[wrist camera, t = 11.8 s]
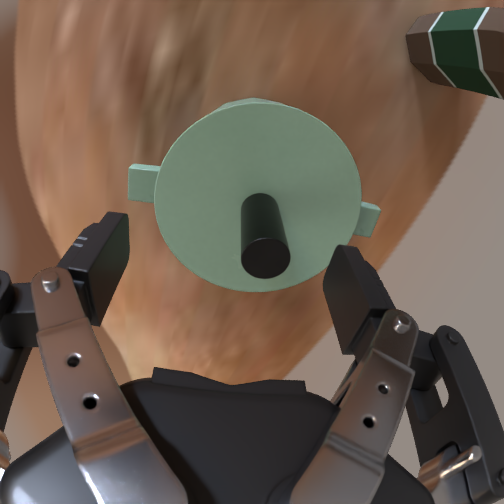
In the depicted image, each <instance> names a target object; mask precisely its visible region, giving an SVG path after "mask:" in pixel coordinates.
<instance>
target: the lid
mask: <svg viewBox="0 0 504 504" xmlns="http://www.w3.org/2000/svg"><path fill="white" fill-rule="evenodd" d="M361 198H362V190H361V182H360V177H359V173H358V169H357V166H356V164H355V161H354V159H353V157H352V155H351V153H350V152H349V150H348V148H347V147H346V145H345V144H344V142H343V141H342V140H341V139H340V138H339V136H338V135H337V134H336V133H335V132H334V131H333V130H332V129H330V128H329V127H328V126H327V125H326V124H325V123H323V122H322V121H320V120H319V119H317V118H315V117H314V116H312V115H311V114H308V113H306V112H304V111H302V110H300V109H297V108H294V107H291V106H287V105H284V104H278V103H271V102H248V103H241V104H235V105H232V106H228V107H225V108H222V109H219V110H217V111H215V112H213V113H210V114H208V115H206V116H205V117H203V118H202V119H200V120H198V121H197V122H195V123H194V124H193V125H192V126H190V127H189V128H188V129H187V130H186V131H185V132H183V134H182V135H181V136H180V137H179V138H178V139H177V140H176V141H175V143H174V144H173V145H172V147H171V148H170V150H169V151H168V153H167V154H166V156H165V158H164V160H163V162H162V165H161V167H160V169H159V173H158V176H157V180H156V185H155V193H154V207H155V213H156V219H157V223H158V226H159V229H160V232H161V234H162V236H163V238H164V240H165V242H166V244H167V245H168V247H169V248H170V250H171V252H172V253H173V254H174V255H175V256H176V258H177V259H178V260H179V261H180V262H181V263H182V264H183V265H184V266H185V267H187V268H188V269H189V270H190V271H192V272H193V273H195V274H196V275H197V276H199V277H201V278H203V279H204V280H206V281H208V282H211V283H213V284H215V285H218V286H221V287H224V288H228V289H232V290H237V291H245V292H267V291H275V290H280V289H284V288H288V287H291V286H294V285H297V284H299V283H302V282H304V281H306V280H308V279H310V278H312V277H313V276H315V275H317V274H318V273H320V272H321V271H322V270H324V269H325V268H326V267H328V265H329V263H330V260H331V258H332V255H333V253H334V250H335V248H336V246H337V245H339V244H341V245H347V244H348V242H349V240H350V239H351V237H352V235H353V233H354V230H355V228H356V225H357V222H358V219H359V215H360V209H361Z"/></svg>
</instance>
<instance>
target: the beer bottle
mask: <svg viewBox="0 0 504 504" xmlns="http://www.w3.org/2000/svg"><path fill="white" fill-rule="evenodd" d="M406 40H407V45H408V50H409V55H410V60H411V63H412V64H413V65H414V66H415V67H417V68H418V69H419V70H420V71H421V72H422V73H423V74H424V76H425V77H426V78H427V79H428V80H429V81H430V82H433V83H436V84H440V85H445V86H451V87H455V88H460V89H465V90H469V91H473V92H477V93H481V94H485V95H489V96H493V97H496V98H500V99H503V100H504V8H495V7H485V8H472V9H462V10H454V11H447V12H440V13H434V14H428V15H424V16H421V17H418V19H417V20H416V22H415V23H414V24H413V26H412V27H411V29H410V30H409V31H408V33H407V34H406Z"/></svg>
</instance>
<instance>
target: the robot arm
mask: <svg viewBox="0 0 504 504" xmlns="http://www.w3.org/2000/svg"><path fill="white" fill-rule="evenodd" d="M129 253H130V245H129V218H128V215H127V214H125V213H117V212H107V213H106V215H105V216H104V217H103V219H102V220H101V221H100V222H99V223H93V224H91V225H90V226H88V227H87V228H85V229H84V230H83V231H82V232H81V234H80V235H79V236H78V239H76V240H75V241H74V243H73V246H72V245H71V247H70V248H69V249H68V251H67V252H66V254H65V255H64V256H63V258H62V259H61V260H60V262H59V263H58V265H57V266H56V267H50V268H46V269H44V270H41V271H40V272H38V273H37V274H36V275H35V276H34V277H33V279H32V281H31V283H17V284H12V282H11V279H10V276H9V274H8V273H6V272H5V271H1V270H0V504H492V503H494V502H497V501H498V500H501V499H503V498H504V431H503V428H502V425H501V423H500V420H499V417H498V414H497V412H496V409H495V407H494V404H493V402H492V399H491V397H490V394H489V392H488V389H487V387H486V385H485V383H484V380H483V378H482V376H481V374H480V371H479V369H478V367H477V365H476V363H475V361H474V359H473V357H472V355H471V352H470V350H469V348H468V346H467V344H466V342H465V340H464V339H463V337H462V336H461V334H460V333H459V332H458V331H456V330H455V329H453V328H452V327H450V326H446V325H443V326H440V327H439V328H438V329H437V331H436V332H435V333H434V335H433V334H430V333H426V332H423V331H420V330H419V328H418V325H417V323H416V321H415V320H414V319H413V318H412V317H411V316H410V315H409V314H407V313H405V312H403V311H401V310H398V309H396V308H395V306H394V304H393V302H392V300H391V299H390V296H389V295H388V292H387V290H386V289H385V287H384V286H383V283H382V281H381V280H380V277H379V276H378V274H377V272H376V270H375V269H374V268H373V267H372V266H371V265H370V264H369V263H368V262H367V261H364V259H363V257H362V255H361V253H360V251H359V250H358V248H357V247H353V246H347V245H341V244H339V245H337V246H336V248H335V250H334V253H333V255H332V258H331V260H330V263H329V265H328V268H327V270H326V273H325V276H324V279H323V291H324V294H325V298H326V301H327V304H328V307H329V310H330V314H331V317H332V320H333V324H334V327H335V330H336V334H337V337H338V341H339V344H340V348H341V351H342V354H343V355H355V360H354V361H353V363H352V364H351V366H350V368H349V370H348V372H347V373H346V375H345V377H344V379H343V381H342V382H341V384H340V386H339V388H338V389H337V391H336V393H335V394H334V396H333V398H332V399H331V401H328V400H327V399H325V398H323V397H321V396H319V395H316V394H313V393H311V392H307V391H306V386H305V381H298V380H270V379H269V380H263V381H257V382H251V383H245V384H238V385H228V384H224V383H221V382H218V381H215V380H212V379H209V378H206V377H203V376H200V375H197V374H194V373H192V372H184V371H177V370H170V369H164V368H157V367H154V370H153V375H152V378H142V379H137V380H133V381H130V382H127V383H125V384H122V385H120V386H119V385H118V383H117V381H116V379H115V377H114V376H113V373H112V371H111V369H110V367H109V365H108V363H107V361H106V359H105V357H104V355H103V352H102V350H101V348H100V345H99V343H98V341H97V339H96V336H95V334H94V332H93V329H92V327H91V325H94V326H99V327H100V325H101V323H102V320H103V318H104V315H105V313H106V311H107V308H108V306H109V304H110V301H111V299H112V297H113V294H114V292H115V290H116V288H117V285H118V283H119V281H120V279H121V277H122V274H123V272H124V270H125V268H126V266H127V263H128V260H129ZM32 347H39V351H40V354H41V358H42V362H43V365H44V370H45V373H46V376H47V380H48V383H49V386H50V389H51V392H52V396H53V398H54V401H55V404H56V407H57V410H58V413H59V415H60V418H61V421H62V423H63V426H62V427H61V428H60V429H58V430H57V431H56V432H54V433H53V434H51V435H50V436H49V437H47V438H46V439H45V440H43V441H42V442H40V443H39V444H37V445H36V446H35V447H33V448H32V449H30V450H29V451H27V452H26V453H25V454H23V455H22V456H20V457H19V458H17V459H16V460H15V461H13V462H12V463H11V464H10V463H9V461H10V458H11V455H10V452H9V443H8V439H7V437H6V435H5V433H4V429H5V425H6V421H7V418H8V414H9V411H10V407H11V405H12V401H13V398H14V395H15V392H16V389H17V386H18V384H19V381H20V378H21V375H22V373H23V370H24V367H25V365H26V362H27V360H28V357H29V355H30V352H31V350H32ZM441 377H443V379H444V382H445V385H446V388H447V390H448V394H449V399H448V402H447V404H446V406H445V407H444V408H443V407H442V404H441V401H440V398H439V395H438V392H437V389H436V386H435V384H436V383H437V382H438V380H439V379H440V378H441ZM405 406H406V409H407V413H408V417H409V420H410V424H411V428H412V432H413V436H414V440H415V445H416V448H417V453H418V457H419V462H420V467H421V468H420V470H419V475H418V478H415V477H414V476H413V475H412V474H410V473H409V472H408V471H407V470H406V469H405V468H404V467H402V466H401V465H400V464H399V463H398V462H397V461H396V460H394V459H393V458H392V457H391V456H390V455H389V454H388V451H389V449H390V447H391V444H392V441H393V439H394V436H395V434H396V431H397V428H398V426H399V423H400V420H401V417H402V414H403V411H404V408H405Z"/></svg>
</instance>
